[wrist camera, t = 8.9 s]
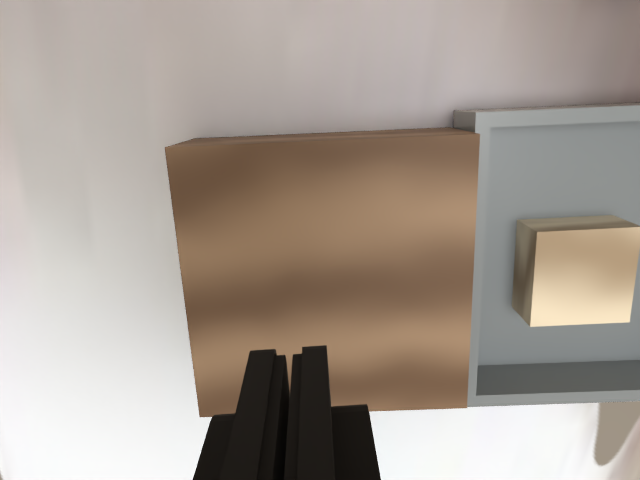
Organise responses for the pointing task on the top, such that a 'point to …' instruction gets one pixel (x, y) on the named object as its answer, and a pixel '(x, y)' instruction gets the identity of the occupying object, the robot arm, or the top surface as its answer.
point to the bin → (536, 203)
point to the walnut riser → (330, 260)
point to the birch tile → (575, 270)
